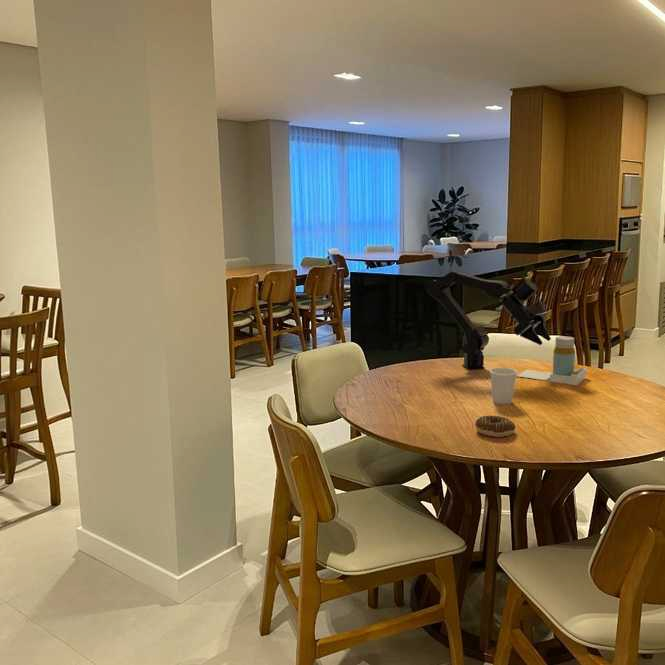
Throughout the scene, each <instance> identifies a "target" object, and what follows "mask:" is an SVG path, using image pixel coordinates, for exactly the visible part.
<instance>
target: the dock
mask: <svg viewBox="0 0 665 665" xmlns="http://www.w3.org/2000/svg"><path fill="white" fill-rule="evenodd" d="M586 377H587V368H584V367H579V368H578V369H576V370H575V369H574V373H573V374H571V376H564V375H556V374H550V379H549V382H550V381H551V383H557V382H558V384H564V383H565V385H570V386H577V385H579V384H580V383H581V382H583V381H584V380H585V379H586ZM582 380H583V381H582Z"/></svg>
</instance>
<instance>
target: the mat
mask: <svg viewBox="0 0 665 665" xmlns="http://www.w3.org/2000/svg"><path fill="white" fill-rule="evenodd" d="M550 374H553V372H547V371H539V370H533V369H526V370H523V371H521V372H520V373H519V374H518V373H517V374H516V378H520V377H524V378H523V379H528V378H531V379H530V380H535V379H539V380H538V381H542V380H546V381H545V382H547V381H549V380H550ZM548 379H549V380H548Z"/></svg>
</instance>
